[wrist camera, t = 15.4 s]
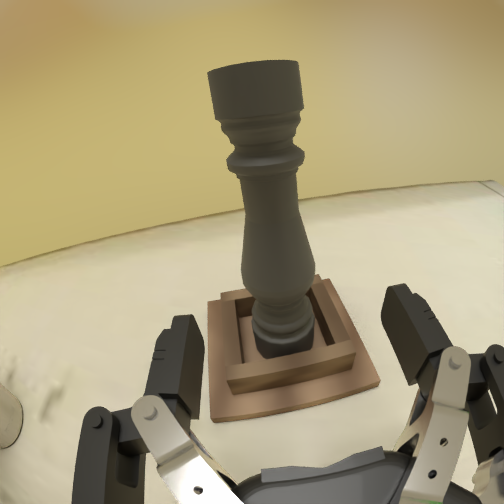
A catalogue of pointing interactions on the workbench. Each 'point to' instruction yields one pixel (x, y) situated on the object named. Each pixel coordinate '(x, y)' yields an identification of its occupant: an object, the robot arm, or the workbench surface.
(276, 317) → the candle holder
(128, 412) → the robot arm
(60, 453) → the workbench surface
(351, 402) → the workbench surface
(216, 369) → the walnut socket base
